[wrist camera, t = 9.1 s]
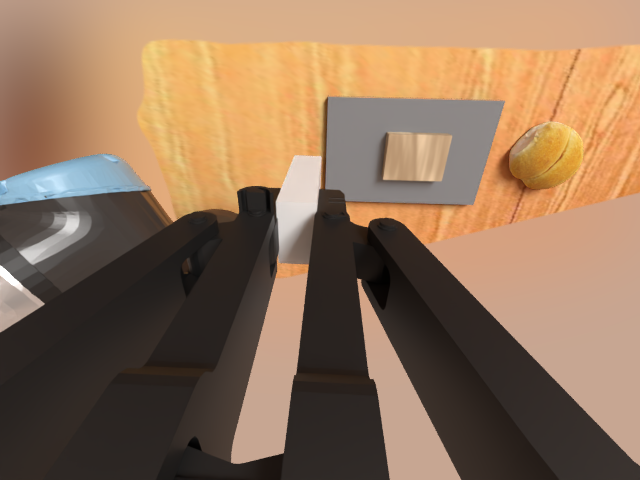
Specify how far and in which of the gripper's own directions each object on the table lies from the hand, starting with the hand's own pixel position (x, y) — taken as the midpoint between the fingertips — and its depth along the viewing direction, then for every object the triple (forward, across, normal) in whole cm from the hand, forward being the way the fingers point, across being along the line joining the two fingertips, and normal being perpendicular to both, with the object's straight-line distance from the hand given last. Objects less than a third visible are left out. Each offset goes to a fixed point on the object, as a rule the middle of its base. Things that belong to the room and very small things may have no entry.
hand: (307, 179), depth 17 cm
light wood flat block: (+24, +9, -4) cm, 26 cm away
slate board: (+26, +12, -4) cm, 29 cm away
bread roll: (+26, +31, -4) cm, 41 cm away
